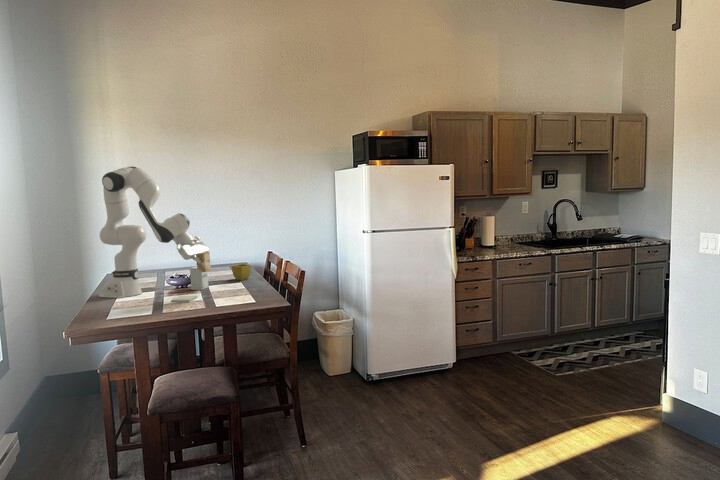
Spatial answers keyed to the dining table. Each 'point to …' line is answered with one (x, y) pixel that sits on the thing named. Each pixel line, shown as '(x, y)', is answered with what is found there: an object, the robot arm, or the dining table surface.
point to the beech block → (203, 262)
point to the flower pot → (241, 271)
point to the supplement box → (198, 279)
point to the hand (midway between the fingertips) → (204, 261)
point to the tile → (184, 298)
